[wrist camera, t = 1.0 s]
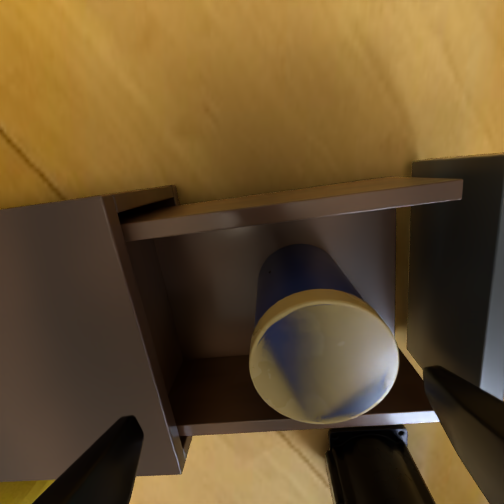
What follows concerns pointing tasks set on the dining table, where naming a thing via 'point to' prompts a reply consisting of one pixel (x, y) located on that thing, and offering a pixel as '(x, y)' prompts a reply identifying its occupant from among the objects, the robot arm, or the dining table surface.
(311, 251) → the tea tin
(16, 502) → the lemon
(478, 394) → the robot arm
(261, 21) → the dining table surface
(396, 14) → the dining table surface
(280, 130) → the dining table surface
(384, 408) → the drawer
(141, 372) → the cabinet
